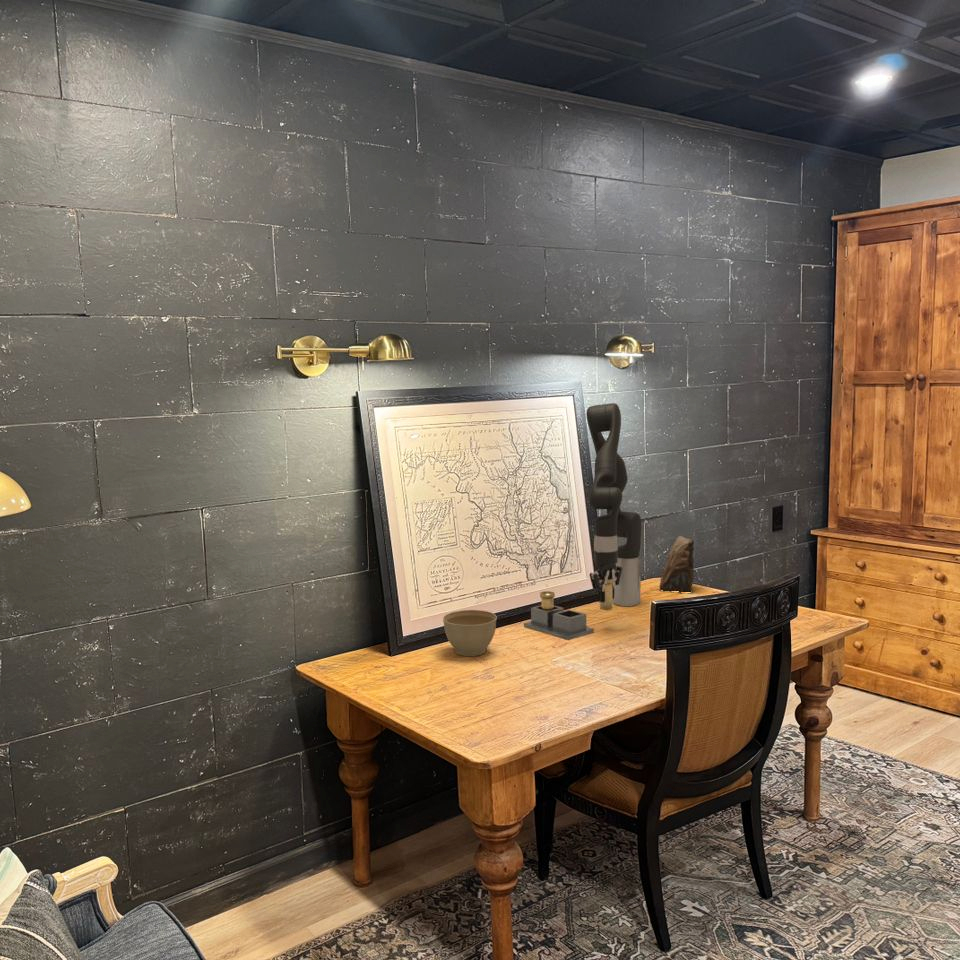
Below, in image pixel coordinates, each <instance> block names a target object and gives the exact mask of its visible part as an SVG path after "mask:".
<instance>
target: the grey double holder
mask: <svg viewBox="0 0 960 960" xmlns="http://www.w3.org/2000/svg"><path fill="white" fill-rule="evenodd" d="M539 597H540V598H541V599H540V602H541V604H540V605H536V606H533V607H530V621H526V622H524V623H523V627H524V628H527V629H530V630H533V631H537V632H540V633H544V634H548V635H550V636H553V637H557V638H561V639H564V640H566V641H567V640H568V641H569V640H572V639H576V638H579V637H582V636H586V635H590V634H593V633H594V631H595V629H594V628H593V627H589V626H587V613H583V612H580V611H576V610H572V609H566V610H565V608H564V607H561V606H558V605H554V599H555V597H556V594H555V592H554V591H548V590H547V591H541V592H539Z"/></svg>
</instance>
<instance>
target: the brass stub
mask: <svg viewBox="0 0 960 960" xmlns="http://www.w3.org/2000/svg"><path fill="white" fill-rule="evenodd" d="M599 581H604V580H601V579H599ZM612 583H614V579H612V578H611V579H608V580H607V584H606V585H605V590H604V591H605V602H599V609H600V610H602V611H612V610H613V604H614V603H613V599H612ZM600 586H601V587H602V584H601V585H600Z"/></svg>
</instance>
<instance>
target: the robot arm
mask: <svg viewBox="0 0 960 960" xmlns="http://www.w3.org/2000/svg"><path fill="white" fill-rule="evenodd" d="M586 421H587V425H588V429H589V433H590V436H591V440H592V444H593V447H594V451H595V459H594V479H593V482H592V483H593V484H592V487H591V489H590V491H589V495H588V504H589V506H590V507H591V508H592V509H594V510H606V514H605V515H600V516H596V518H595V519H594V539H593V540H594V541H593V550H594V551H593V558H594V559H593V563H595V566H596V567H595V571H594V572H589V578H590V583H591V586H592V587H591V588H592V589H593V590H595V591H597V600H598V602H599V603H600V602H605V591H604V590H605V585H606V584H607V580H608V579H611V578H612V579H614V583H612V603H613V604H614V605H615V606H620V607H622V606H623V607H633V606H637V605H639V604H640V603H641V598H642V597H641V588H642V587H641V586H642V584H641V582H642V579H641V576H640V550H641V546H642V545H641V543H642V528H643V526H642V525H643V524H642V523H643V522H642V516H641V515H640V514H639V513H637V512H633V511H632V512H631V511H622V510H621V505H622V501H623V492H624V490H625V489H626V486H627V484H628V473H627V468H626V462H625V461H624V459H623V457H621V455H620V454H619V453H618V448H619V444H620V443H619V442H620V436H621V435H620V434H621V427H622V414H621V410H620V407H619V405H618V404H617V403H614V402H612V403H603V404H595V405H592V406H588V407H587V409H586ZM605 432H609V433H608V436H607V438H606V439H605V437H604V436H603V433H605ZM618 538H625V539H626V543H625V544H623V545H618ZM599 579H601V580H604V581H599ZM601 584H602V587H601V586H600V585H601Z"/></svg>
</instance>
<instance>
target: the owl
mask: <svg viewBox="0 0 960 960" xmlns="http://www.w3.org/2000/svg"><path fill="white" fill-rule="evenodd" d="M694 544H695V540H694V539H693V538H686V537H684V536H682V535H681V534H680V535H678V537H677V538H676V540H675V542H674V544H673V545H672V546H671V548H670V550H669V551H668V555H667V558H666V561H665V564H664V567H663V570H662V573H661V577H660V583H659V590H663V591H662V592H665V591H679V592H691V591H692V587H693V582H694V557H693V556H694V555H693V553H694V549H695V548H694Z"/></svg>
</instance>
